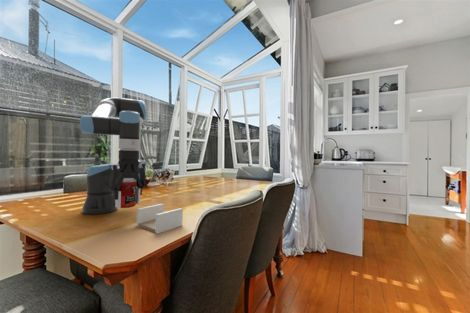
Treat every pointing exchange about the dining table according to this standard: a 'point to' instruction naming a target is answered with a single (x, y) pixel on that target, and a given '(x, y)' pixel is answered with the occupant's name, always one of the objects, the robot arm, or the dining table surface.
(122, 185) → the canned food
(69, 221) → the dining table surface
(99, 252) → the dining table surface
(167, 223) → the holder
